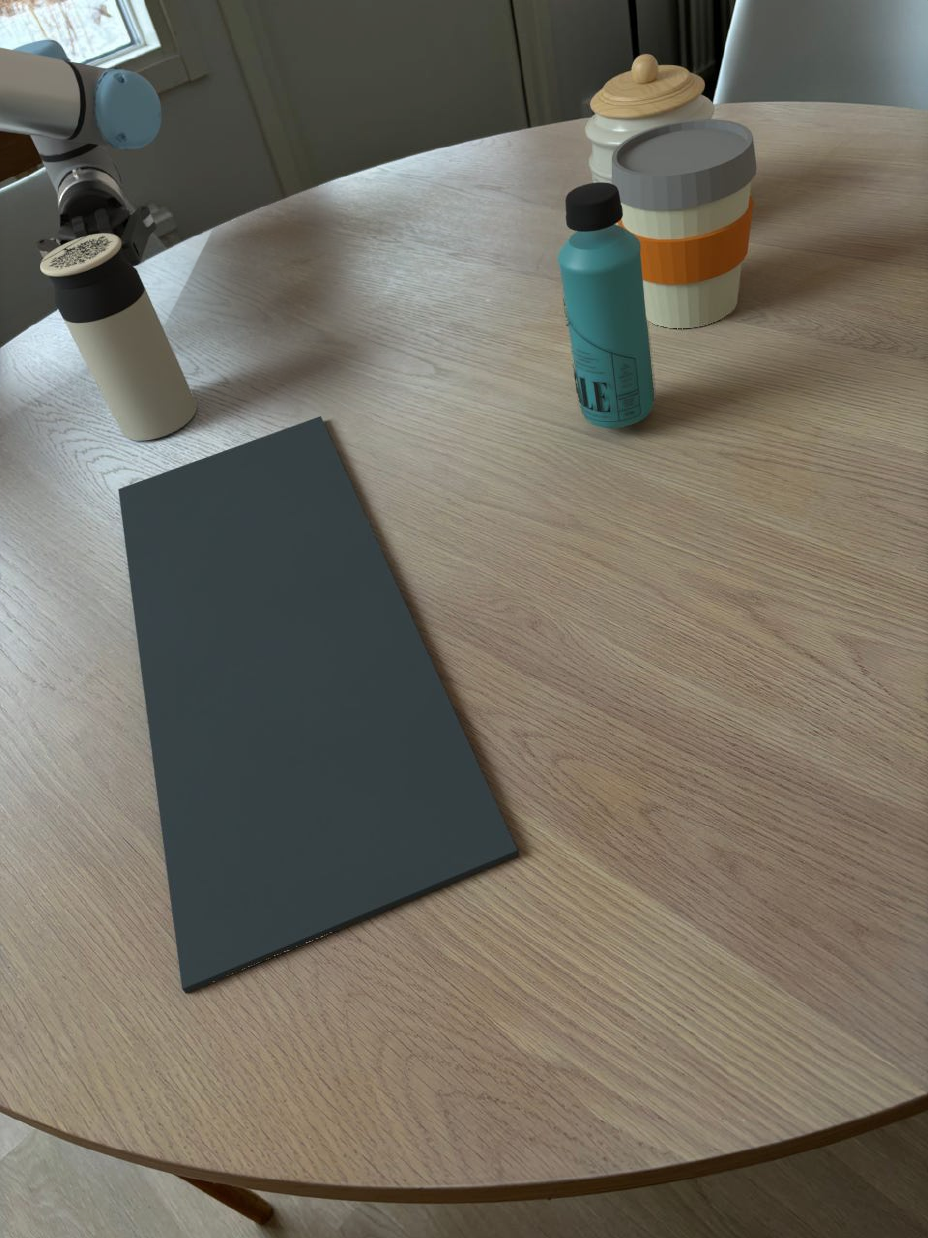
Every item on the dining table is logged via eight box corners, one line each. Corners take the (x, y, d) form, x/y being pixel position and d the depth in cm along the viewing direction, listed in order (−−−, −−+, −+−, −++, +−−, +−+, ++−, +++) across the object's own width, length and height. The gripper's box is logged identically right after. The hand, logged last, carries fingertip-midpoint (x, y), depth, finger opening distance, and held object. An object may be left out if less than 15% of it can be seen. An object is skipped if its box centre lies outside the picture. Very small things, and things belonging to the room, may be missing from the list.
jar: (594, 216, 116) (574, 49, 104) (709, 194, 114) (702, 21, 102) (601, 267, 107) (580, 90, 95) (726, 245, 105) (721, 61, 93)
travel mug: (212, 411, 102) (138, 239, 90) (146, 452, 99) (60, 280, 87) (173, 390, 107) (97, 225, 95) (109, 428, 104) (22, 262, 92)
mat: (185, 994, 56) (181, 989, 56) (120, 493, 94) (117, 488, 94) (519, 855, 58) (518, 850, 58) (322, 420, 96) (320, 415, 96)
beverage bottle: (667, 403, 87) (649, 168, 73) (644, 449, 83) (620, 209, 69) (595, 398, 90) (565, 171, 76) (569, 442, 86) (533, 210, 72)
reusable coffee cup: (728, 345, 91) (723, 179, 81) (602, 332, 98) (583, 175, 87) (776, 278, 98) (777, 117, 88) (655, 269, 104) (644, 117, 94)
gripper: (22, 198, 113) (22, 275, 96) (134, 162, 114) (154, 231, 97) (54, 262, 118) (59, 346, 101) (161, 226, 119) (184, 303, 102)
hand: (105, 289), depth 99 cm, fingers closed
